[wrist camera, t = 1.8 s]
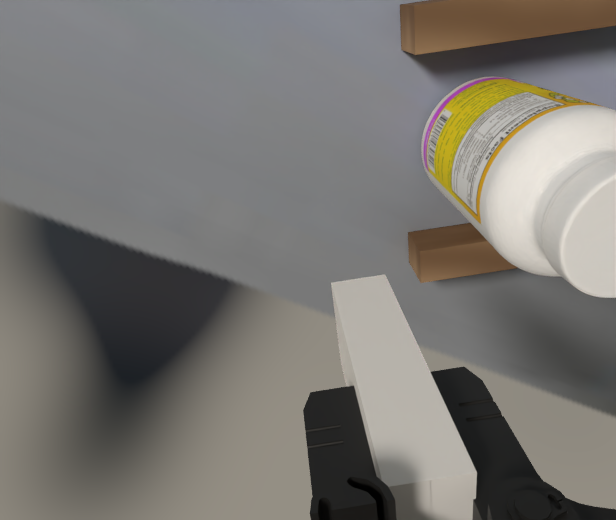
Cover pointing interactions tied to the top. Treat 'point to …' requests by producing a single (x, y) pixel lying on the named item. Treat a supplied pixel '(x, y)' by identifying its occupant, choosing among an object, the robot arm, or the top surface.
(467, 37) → the wooden frame
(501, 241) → the supplement bottle
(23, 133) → the top surface
